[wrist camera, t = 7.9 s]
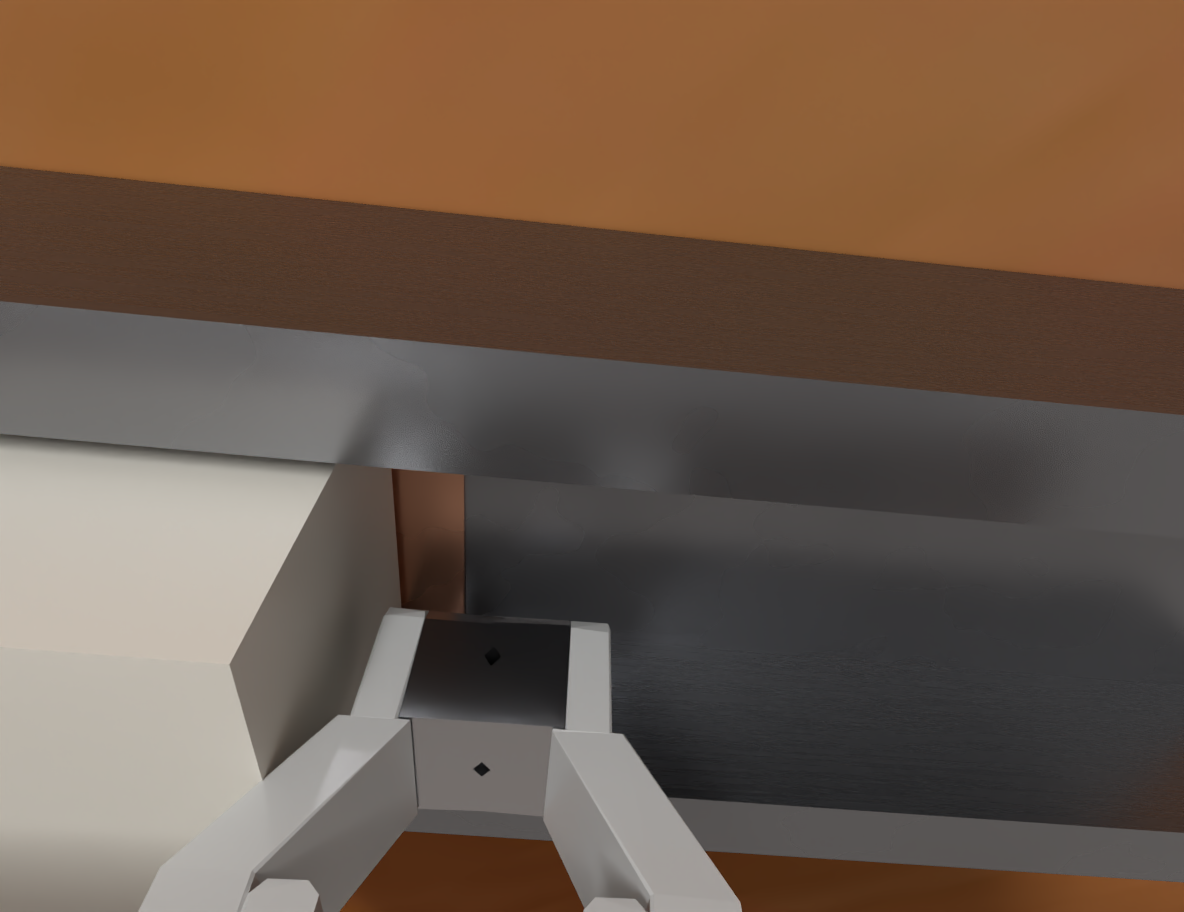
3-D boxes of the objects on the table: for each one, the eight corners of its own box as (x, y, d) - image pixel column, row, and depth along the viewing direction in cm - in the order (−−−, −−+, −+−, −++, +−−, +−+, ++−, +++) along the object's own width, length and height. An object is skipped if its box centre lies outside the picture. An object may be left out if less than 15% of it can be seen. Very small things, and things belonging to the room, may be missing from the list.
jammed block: (384, 373, 10) (230, 664, 6) (402, 621, 13) (306, 935, 9) (12, 338, 10) (-424, 614, 6) (114, 599, 13) (-125, 909, 8)
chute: (1487, 321, 11) (1883, 482, 7) (1162, 694, 16) (1312, 890, 12) (-200, 145, 10) (-620, 241, 6) (28, 606, 15) (-142, 795, 11)
